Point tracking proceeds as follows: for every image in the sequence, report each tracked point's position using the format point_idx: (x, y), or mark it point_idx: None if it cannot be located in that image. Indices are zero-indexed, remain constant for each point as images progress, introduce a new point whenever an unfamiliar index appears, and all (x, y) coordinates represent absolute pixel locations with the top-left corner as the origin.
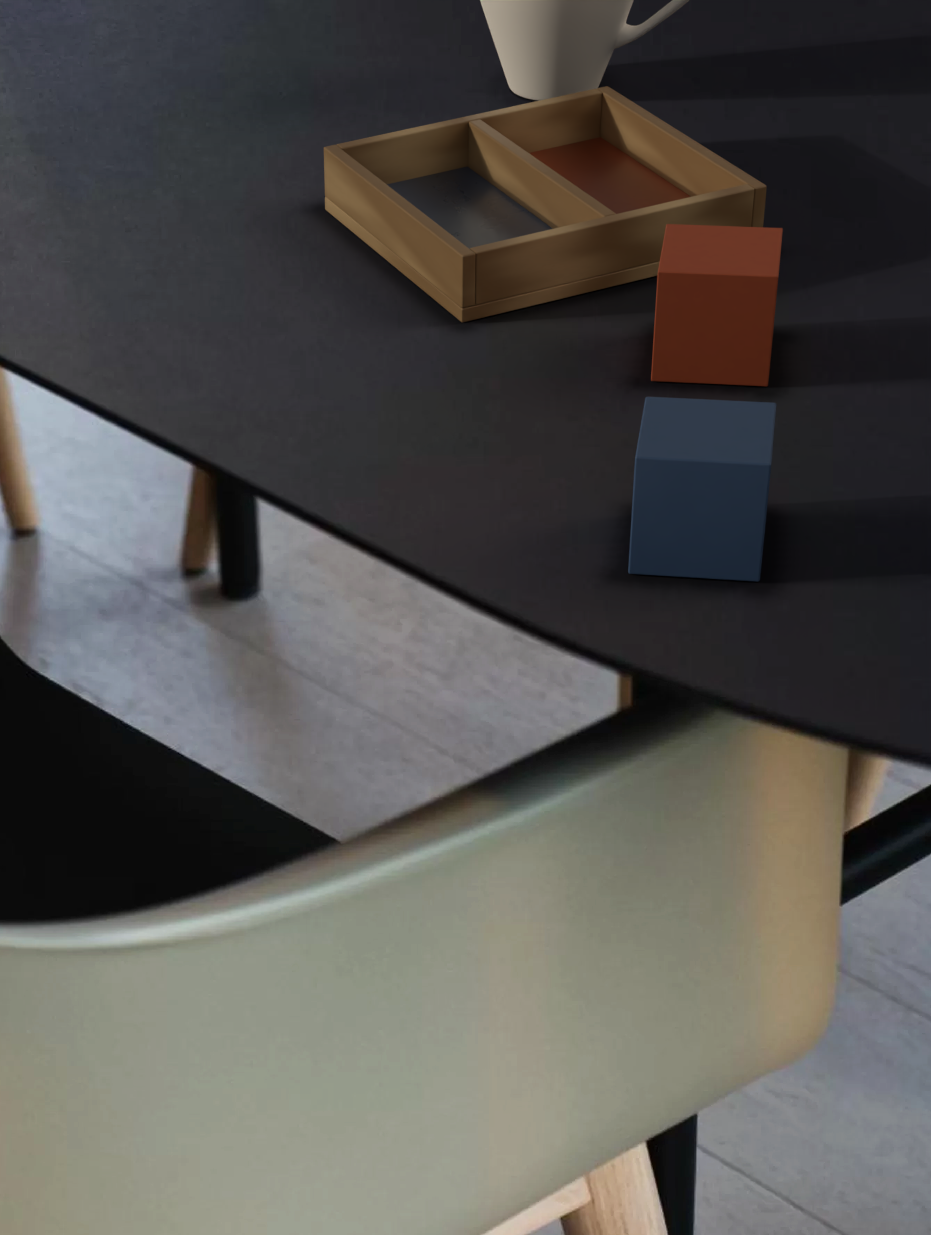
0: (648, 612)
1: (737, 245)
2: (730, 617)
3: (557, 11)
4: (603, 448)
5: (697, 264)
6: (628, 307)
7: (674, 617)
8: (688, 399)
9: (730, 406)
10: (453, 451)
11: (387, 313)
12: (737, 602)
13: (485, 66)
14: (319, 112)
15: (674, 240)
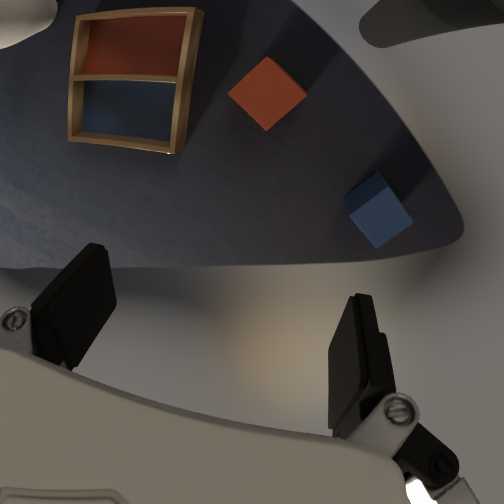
0: None
1: (268, 85)
2: None
3: (34, 22)
4: (301, 173)
5: (272, 112)
6: (212, 86)
7: None
8: (363, 207)
9: (378, 200)
10: (267, 212)
11: (162, 163)
12: None
13: None
14: (25, 97)
15: (244, 103)
